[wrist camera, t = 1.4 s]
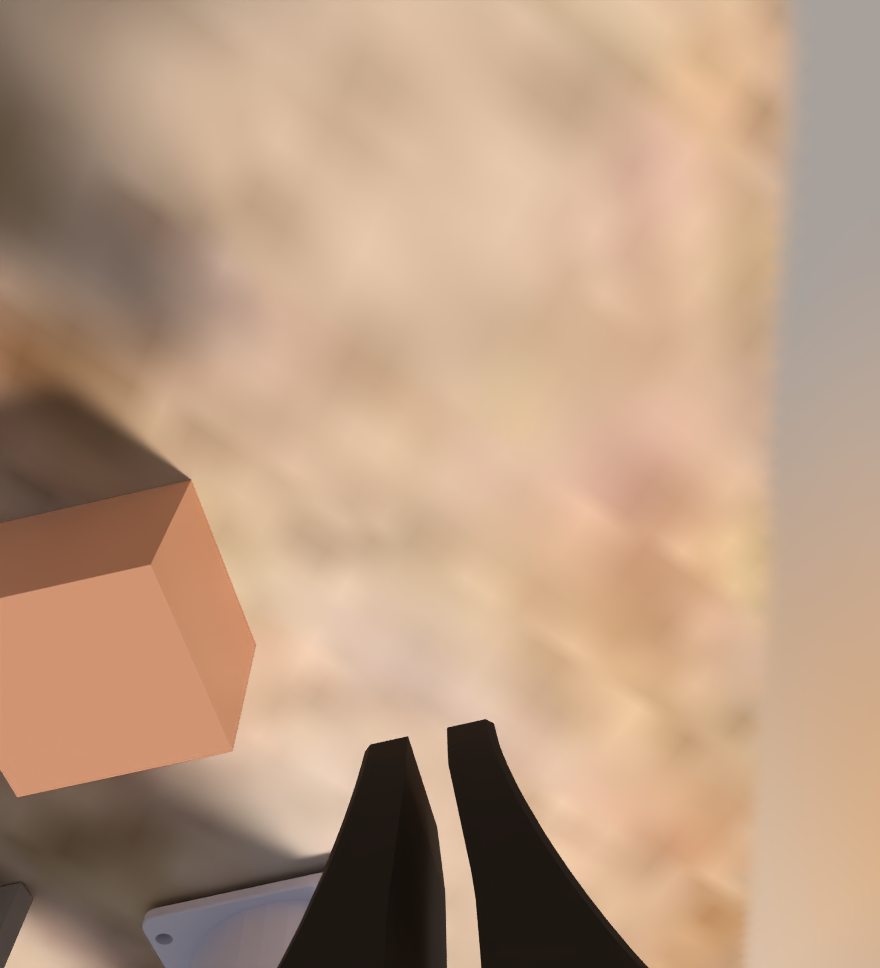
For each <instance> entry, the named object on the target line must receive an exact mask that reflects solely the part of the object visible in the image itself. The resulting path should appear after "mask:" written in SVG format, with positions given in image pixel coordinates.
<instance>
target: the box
mask: <svg viewBox="0 0 880 968" xmlns="http://www.w3.org/2000/svg"><path fill="white" fill-rule="evenodd" d="M32 901H33V899H32V897H31V896H30V894H29V893H28V891H27V890H26V888H25V887H24V885H23V884H22V882H21V883H16V884H11V885H7V886H2V887H0V968H4V967H5V964H6V962H7V960H8V957H9V955H10V953H11V950H12V948H13V946H14V943H15V941H16V938H17V936H18V934H19V931H20V929H21V927H22V924H23V922H24V920H25V917H26V915H27V913H28V910H29V908H30V906H31V903H32Z"/></svg>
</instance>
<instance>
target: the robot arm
mask: <svg viewBox="0 0 880 968" xmlns="http://www.w3.org/2000/svg"><path fill="white" fill-rule="evenodd" d="M447 743H448V764H449V769H450V774H451V778H452V783H453V788H454V793H455V797H456V802H457V807H458V811H459V816H460V821H461V825H462V830H463V835H464V839H465V844H466V849H467V853H468V858H469V863H470V867H471V872H472V878H473V885H474V891H475V897H476V908H477V919H478V931H479V943H480V955H481V968H648V967H647V966H646V965H645V964H644V963H643V961H642V960H641V959H640V958H639V957H638V956H637V955H636V954H635V953H634V952H633V950H632V949H631V948H630V947H629V946H628V945H627V943H626V942H625V941H624V940H623V939H622V937H621V936H620V935H619V934H618V933H617V931H616V930H615V929H614V928H613V927H612V925H611V924H610V923H609V922H608V920H607V919H606V918H605V917H604V915H603V914H602V913H601V912H600V910H599V909H598V908H597V906H596V905H595V904H594V903H593V901H592V900H591V899H590V898H589V896H588V895H587V894H586V892H585V891H584V889H583V888H582V887H581V885H580V884H579V883H578V881H577V880H576V879H575V877H574V876H573V874H572V873H571V872H570V870H569V869H568V867H567V866H566V864H565V863H564V861H563V860H562V858H561V857H560V855H559V854H558V853H557V851H556V850H555V848H554V847H553V845H552V844H551V842H550V840H549V839H548V837H547V836H546V834H545V833H544V831H543V829H542V828H541V826H540V824H539V823H538V821H537V819H536V818H535V816H534V814H533V812H532V811H531V809H530V807H529V806H528V804H527V802H526V800H525V799H524V797H523V795H522V793H521V791H520V789H519V788H518V786H517V784H516V782H515V780H514V778H513V775H512V773H511V771H510V769H509V767H508V765H507V763H506V760H505V758H504V756H503V753H502V750H501V748H500V745H499V742H498V738H497V734H496V730H495V726H494V723H492V722H490V721H488V720H486V719H484V720H480V721H475V722H471V723H466V724H462V725H457V726H453V727H448V728H447ZM142 929H143V932H144V933H145V935H146V937H147V938H148V940H149V942H150V943H151V945H152V947H153V948H154V950H155V952H156V953H157V955H158V957H159V958H160V960H161V962H162V963H163V965H164V967H165V968H447V951H446V905H445V887H444V879H443V870H442V862H441V854H440V846H439V838H438V831H437V826H436V822H435V819H434V816H433V813H432V810H431V807H430V804H429V800H428V797H427V794H426V791H425V788H424V785H423V782H422V779H421V775H420V772H419V769H418V766H417V763H416V760H415V757H414V754H413V750H412V747H411V744H410V741H409V738H408V736H407V737H403V738H398V739H394V740H389V741H385V742H380V743H376V744H371V745H370V746H369V747H368V748H367V750H366V751H365V754H364V758H363V761H362V765H361V768H360V772H359V775H358V779H357V782H356V785H355V788H354V791H353V794H352V797H351V800H350V803H349V806H348V809H347V812H346V814H345V817H344V820H343V823H342V825H341V828H340V831H339V833H338V836H337V838H336V841H335V843H334V846H333V849H332V851H331V854H330V856H329V859H328V861H327V864H326V866H325V869H324V871H323V872H321V873H316V874H311V875H307V876H302V877H297V878H293V879H288V880H283V881H279V882H274V883H269V884H265V885H260V886H256V887H251V888H246V889H242V890H237V891H232V892H228V893H223V894H218V895H214V896H209V897H204V898H200V899H195V900H191V901H186V902H181V903H177V904H172V905H167V906H163V907H158V908H154V909H152V910H149V911H148V912H147V913H146V915H145V917H144V921H143V924H142Z"/></svg>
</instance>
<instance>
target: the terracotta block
mask: <svg viewBox="0 0 880 968" xmlns="http://www.w3.org/2000/svg"><path fill="white" fill-rule="evenodd" d="M255 648H256V644H255V641H254V639H253V636H252V633H251V631H250V628H249V626H248V623H247V621H246V618H245V616H244V613H243V610H242V608H241V605H240V603H239V600H238V598H237V595H236V593H235V590H234V587H233V585H232V582H231V580H230V577H229V575H228V572H227V570H226V567H225V565H224V562H223V559H222V557H221V554H220V552H219V549H218V547H217V544H216V542H215V539H214V536H213V534H212V531H211V529H210V526H209V524H208V521H207V519H206V516H205V514H204V511H203V508H202V506H201V503H200V501H199V498H198V496H197V493H196V491H195V488H194V485H193V483H192V480H188V481H184V482H179V483H175V484H170V485H166V486H162V487H157V488H153V489H148V490H144V491H139V492H135V493H131V494H126V495H122V496H117V497H113V498H108V499H104V500H100V501H95V502H91V503H86V504H82V505H78V506H73V507H69V508H64V509H60V510H55V511H51V512H47V513H42V514H38V515H33V516H29V517H25V518H20V519H16V520H11V521H7V522H2V523H0V770H1V772H2V773H3V775H4V777H5V778H6V780H7V781H8V783H9V785H10V786H11V788H12V790H13V791H14V793H15V794H16V796H17V797H21V796H26V795H31V794H35V793H40V792H45V791H49V790H54V789H59V788H63V787H68V786H73V785H77V784H82V783H87V782H91V781H96V780H101V779H105V778H110V777H115V776H119V775H124V774H129V773H133V772H138V771H143V770H147V769H152V768H157V767H161V766H166V765H171V764H175V763H180V762H185V761H189V760H194V759H199V758H203V757H208V756H213V755H217V754H222V753H227V752H231V751H233V747H234V743H235V738H236V733H237V729H238V724H239V720H240V715H241V711H242V706H243V702H244V697H245V693H246V688H247V684H248V679H249V675H250V670H251V666H252V661H253V657H254V652H255Z"/></svg>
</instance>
